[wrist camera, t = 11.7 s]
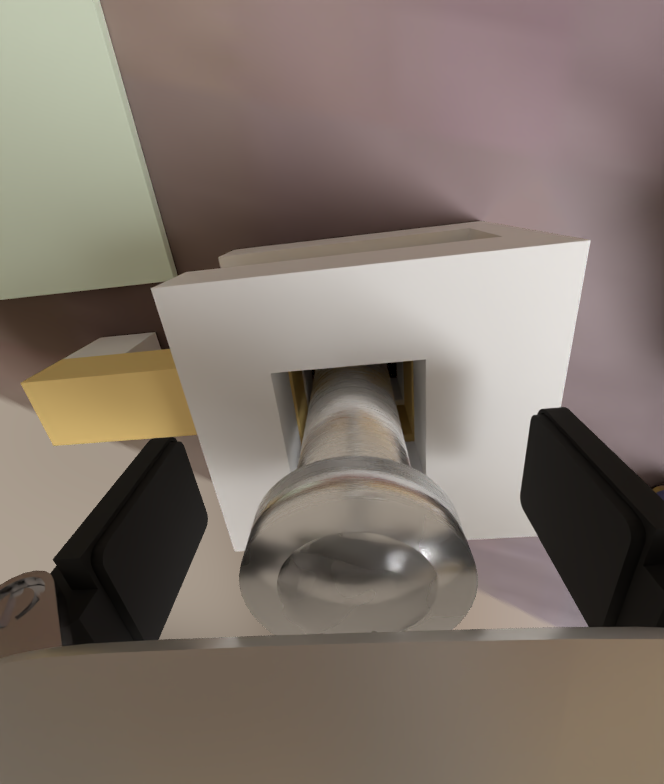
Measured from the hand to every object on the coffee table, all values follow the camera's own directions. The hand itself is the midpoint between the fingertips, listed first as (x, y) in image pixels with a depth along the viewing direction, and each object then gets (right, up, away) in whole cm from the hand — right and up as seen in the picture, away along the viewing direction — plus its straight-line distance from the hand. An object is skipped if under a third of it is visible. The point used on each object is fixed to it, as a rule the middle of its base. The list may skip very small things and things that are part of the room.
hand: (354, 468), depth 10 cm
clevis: (-3, +4, +9) cm, 11 cm away
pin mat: (-15, +12, +6) cm, 20 cm away
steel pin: (0, +5, +9) cm, 10 cm away
